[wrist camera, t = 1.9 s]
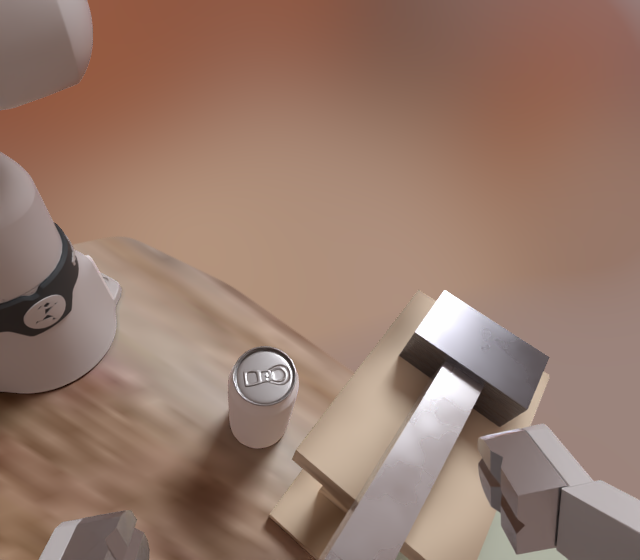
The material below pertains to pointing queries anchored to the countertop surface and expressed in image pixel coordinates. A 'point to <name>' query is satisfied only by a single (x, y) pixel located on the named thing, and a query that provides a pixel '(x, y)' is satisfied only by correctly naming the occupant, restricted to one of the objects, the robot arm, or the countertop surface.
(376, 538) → the hammer
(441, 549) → the stand
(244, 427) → the can
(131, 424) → the countertop surface
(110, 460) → the countertop surface
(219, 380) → the countertop surface
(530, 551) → the robot arm
